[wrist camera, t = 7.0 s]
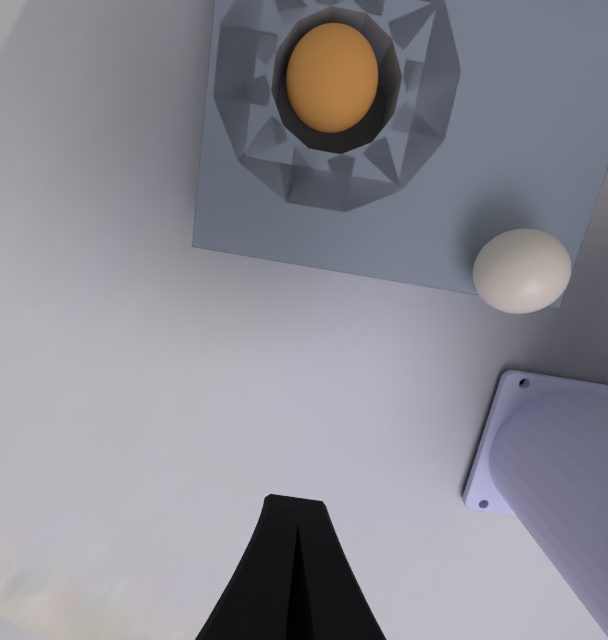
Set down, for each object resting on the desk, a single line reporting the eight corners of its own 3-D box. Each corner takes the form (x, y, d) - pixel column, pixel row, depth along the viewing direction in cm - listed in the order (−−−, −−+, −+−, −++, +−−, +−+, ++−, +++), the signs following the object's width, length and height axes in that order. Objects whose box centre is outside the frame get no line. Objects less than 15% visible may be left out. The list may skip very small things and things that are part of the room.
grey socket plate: (625, -26, 14) (692, -79, 12) (522, 298, 17) (559, 308, 15) (244, -107, 13) (231, -181, 11) (208, 244, 16) (191, 246, 14)
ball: (293, -12, 12) (318, 56, 15) (258, 91, 12) (290, 136, 16) (390, 4, 11) (394, 73, 14) (349, 114, 12) (362, 157, 15)
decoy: (545, 235, 14) (609, 237, 11) (521, 310, 15) (575, 329, 12) (470, 222, 14) (515, 220, 11) (450, 298, 15) (487, 314, 12)
